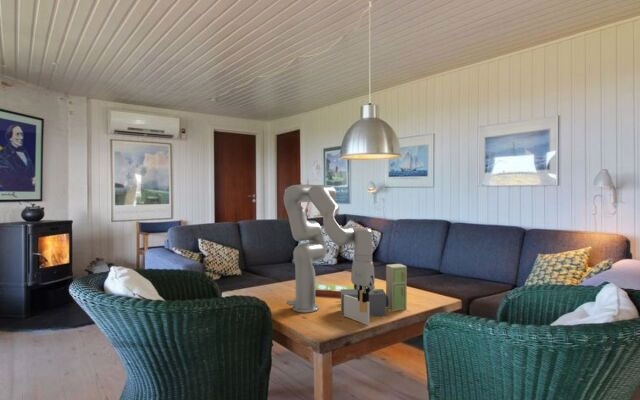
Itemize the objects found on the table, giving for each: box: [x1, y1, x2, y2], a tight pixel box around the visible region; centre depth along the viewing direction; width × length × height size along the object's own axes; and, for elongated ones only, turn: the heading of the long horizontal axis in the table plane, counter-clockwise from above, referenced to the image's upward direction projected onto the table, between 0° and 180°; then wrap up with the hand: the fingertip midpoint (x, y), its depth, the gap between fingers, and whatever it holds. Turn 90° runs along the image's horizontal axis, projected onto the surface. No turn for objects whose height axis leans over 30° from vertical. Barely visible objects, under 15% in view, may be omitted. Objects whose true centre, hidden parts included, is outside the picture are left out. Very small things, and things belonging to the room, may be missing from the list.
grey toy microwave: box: [340, 288, 389, 317], centre depth 187 cm, size 22×9×11 cm, turn 91°
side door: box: [343, 290, 370, 326], centre depth 175 cm, size 15×3×14 cm, turn 39°
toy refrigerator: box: [385, 263, 408, 312], centre depth 193 cm, size 8×7×21 cm
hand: (363, 300), depth 170 cm, fingers closed on side door, 2 cm apart
